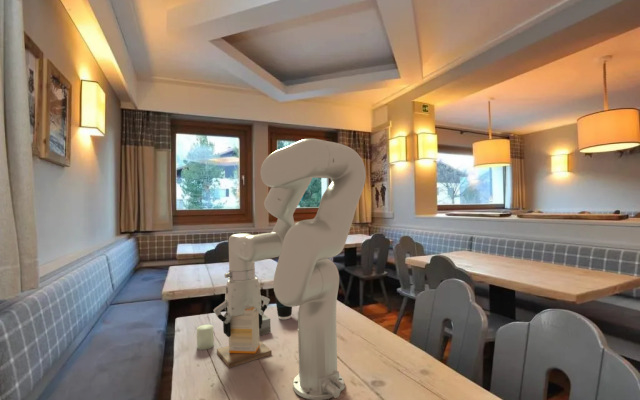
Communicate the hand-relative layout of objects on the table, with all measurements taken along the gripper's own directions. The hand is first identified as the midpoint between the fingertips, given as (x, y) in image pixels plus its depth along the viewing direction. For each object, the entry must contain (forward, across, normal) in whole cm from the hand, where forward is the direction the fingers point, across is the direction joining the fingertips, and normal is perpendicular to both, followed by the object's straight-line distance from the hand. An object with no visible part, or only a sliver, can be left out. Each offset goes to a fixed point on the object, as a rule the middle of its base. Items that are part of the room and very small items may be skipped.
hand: (243, 331), depth 99 cm
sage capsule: (+7, -8, +12) cm, 16 cm away
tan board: (+7, 0, 0) cm, 7 cm away
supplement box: (+6, 0, 0) cm, 6 cm away
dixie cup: (+7, +24, +20) cm, 32 cm away
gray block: (+7, +11, +12) cm, 18 cm away
